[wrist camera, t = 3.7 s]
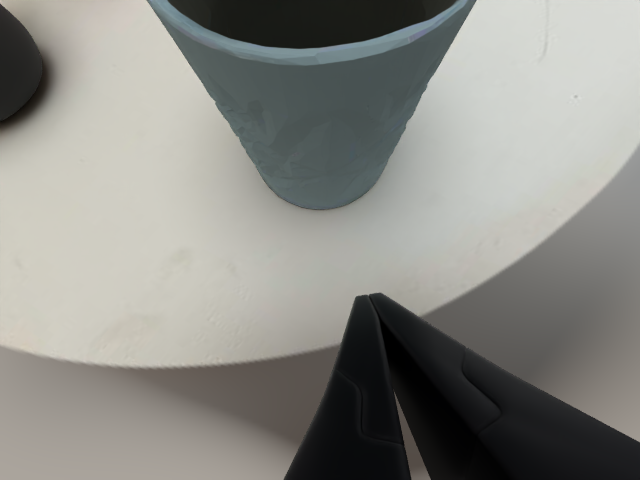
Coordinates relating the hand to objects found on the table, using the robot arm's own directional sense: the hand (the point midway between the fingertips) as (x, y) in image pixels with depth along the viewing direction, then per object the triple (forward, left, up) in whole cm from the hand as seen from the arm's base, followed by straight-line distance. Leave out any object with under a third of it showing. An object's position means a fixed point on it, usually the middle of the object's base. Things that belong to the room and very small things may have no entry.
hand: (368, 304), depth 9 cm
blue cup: (+5, -10, -8) cm, 13 cm away
